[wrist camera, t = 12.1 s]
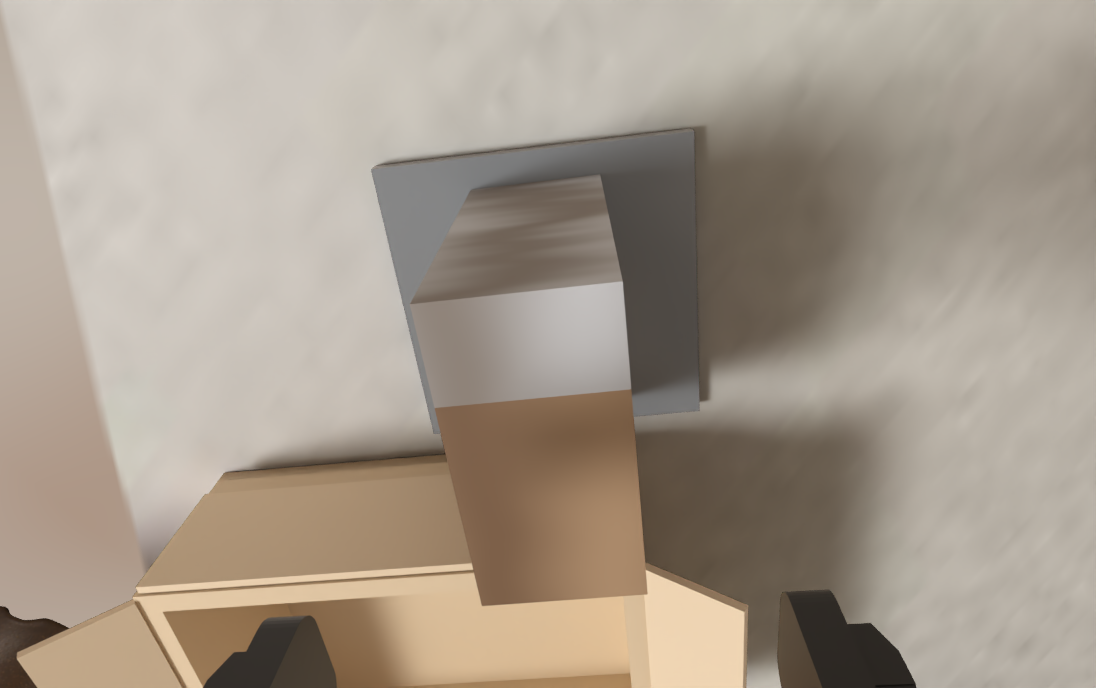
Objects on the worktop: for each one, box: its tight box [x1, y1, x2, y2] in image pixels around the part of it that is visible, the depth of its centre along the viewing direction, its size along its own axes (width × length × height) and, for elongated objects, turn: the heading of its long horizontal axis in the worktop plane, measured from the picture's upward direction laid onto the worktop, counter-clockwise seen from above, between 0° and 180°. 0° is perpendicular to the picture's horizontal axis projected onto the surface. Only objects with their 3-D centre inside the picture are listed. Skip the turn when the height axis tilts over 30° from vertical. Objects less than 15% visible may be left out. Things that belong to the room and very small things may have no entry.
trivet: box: [371, 128, 700, 434], centre depth 25 cm, size 11×11×1 cm
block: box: [410, 174, 648, 606], centre depth 20 cm, size 4×9×10 cm, turn 7°
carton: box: [17, 454, 748, 688], centre depth 28 cm, size 24×16×9 cm, turn 97°
